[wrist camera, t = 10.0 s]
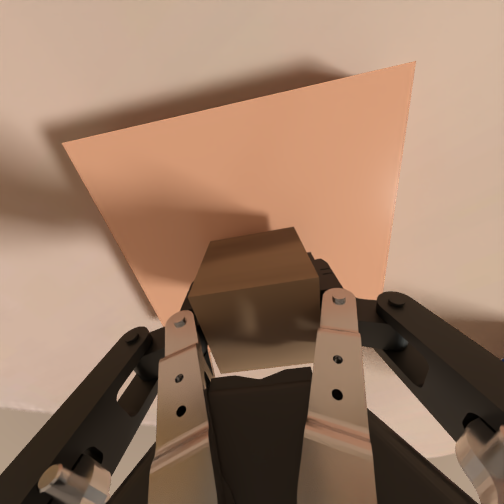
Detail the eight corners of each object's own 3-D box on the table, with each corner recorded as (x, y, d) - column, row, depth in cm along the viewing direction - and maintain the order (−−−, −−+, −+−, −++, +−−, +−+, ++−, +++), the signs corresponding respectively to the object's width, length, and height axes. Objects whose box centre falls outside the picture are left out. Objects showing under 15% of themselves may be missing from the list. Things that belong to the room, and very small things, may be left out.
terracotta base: (107, 142, 15) (61, 142, 11) (371, 82, 13) (415, 60, 9) (190, 322, 23) (179, 355, 19) (356, 298, 21) (377, 329, 18)
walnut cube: (210, 241, 12) (187, 297, 8) (293, 226, 12) (319, 277, 8) (229, 303, 15) (220, 373, 10) (300, 293, 14) (322, 361, 10)
